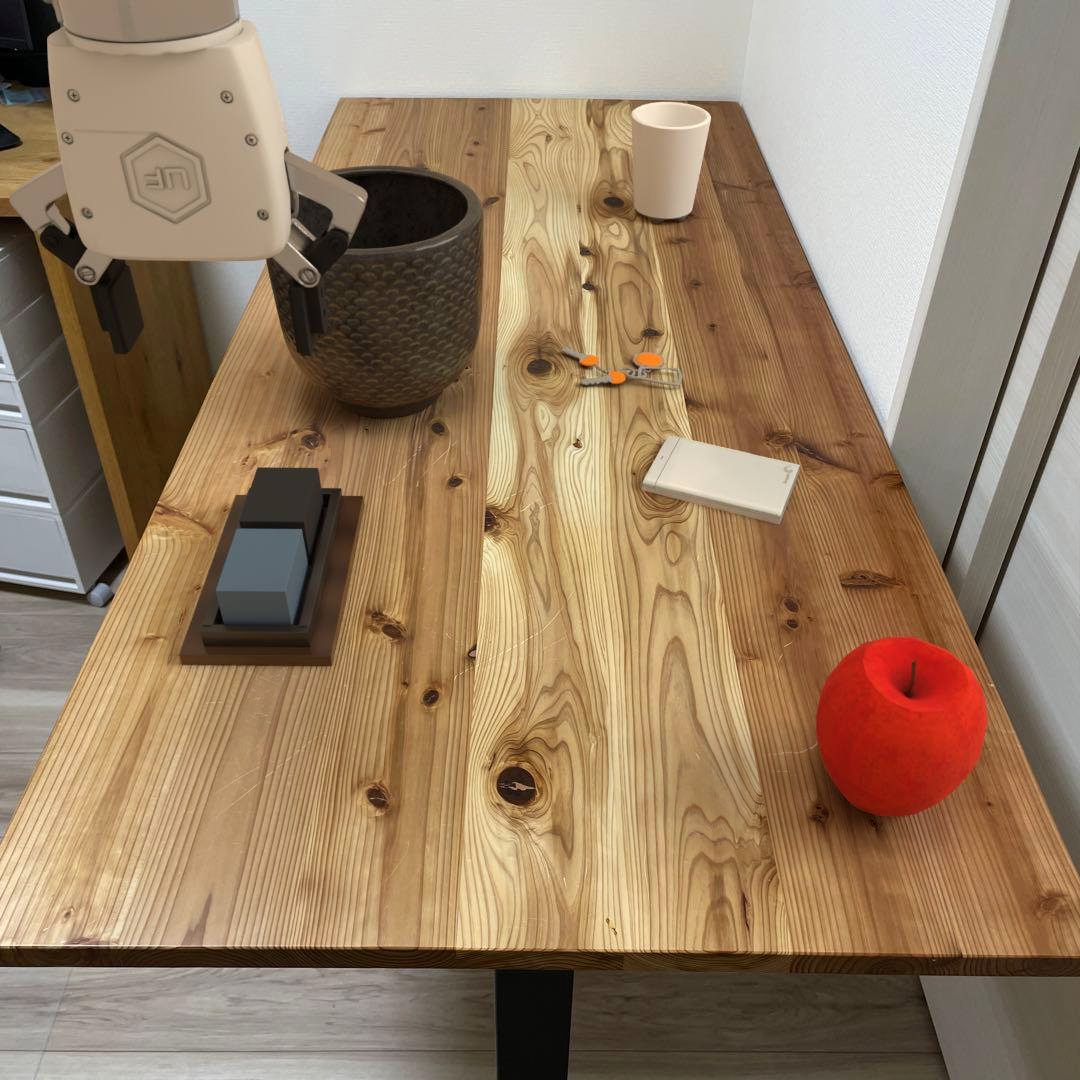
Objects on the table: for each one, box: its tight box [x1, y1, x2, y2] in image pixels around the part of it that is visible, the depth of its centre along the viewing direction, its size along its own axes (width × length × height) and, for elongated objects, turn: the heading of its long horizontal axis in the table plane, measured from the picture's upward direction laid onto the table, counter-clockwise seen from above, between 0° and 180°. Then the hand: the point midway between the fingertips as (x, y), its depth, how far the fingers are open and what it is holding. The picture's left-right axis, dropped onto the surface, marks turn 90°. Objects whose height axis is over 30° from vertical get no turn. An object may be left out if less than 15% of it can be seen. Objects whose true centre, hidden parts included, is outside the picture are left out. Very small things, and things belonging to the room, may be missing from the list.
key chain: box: [560, 346, 683, 387], centre depth 109 cm, size 13×7×1 cm, turn 83°
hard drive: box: [640, 434, 801, 526], centre depth 96 cm, size 2×8×12 cm
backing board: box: [178, 486, 366, 666], centre depth 84 cm, size 19×11×2 cm, turn 0°
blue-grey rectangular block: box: [216, 529, 309, 625], centre depth 80 cm, size 7×5×4 cm
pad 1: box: [239, 466, 325, 565], centre depth 86 cm, size 7×5×4 cm
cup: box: [630, 101, 712, 224], centre depth 136 cm, size 10×10×13 cm
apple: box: [815, 636, 989, 818], centre depth 66 cm, size 10×10×12 cm
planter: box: [265, 164, 485, 419], centre depth 101 cm, size 20×20×19 cm
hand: (220, 342), depth 58 cm, fingers open, 9 cm apart
